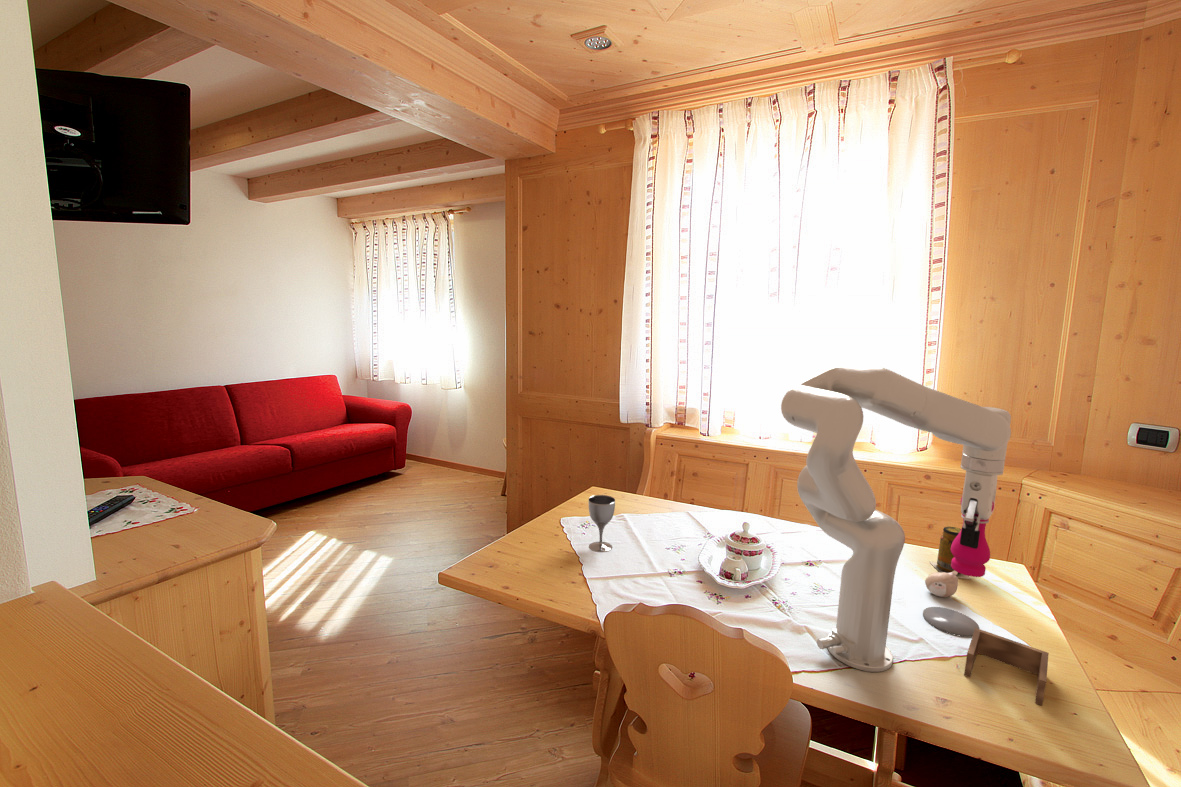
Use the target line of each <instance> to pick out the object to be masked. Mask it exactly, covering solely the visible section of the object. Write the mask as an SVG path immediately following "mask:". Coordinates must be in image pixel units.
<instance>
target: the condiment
mask: <svg viewBox="0 0 1181 787" xmlns="http://www.w3.org/2000/svg"><path fill="white" fill-rule="evenodd" d="M961 529H962V528H959V527H956V526H949V525H948V526H944V527H943V531H942V535H941V536H940V539H939V540H940V541H939V546H938V554H937V560H936V562H935V561H929V564H931V565H932V567H934V568H935V570H937V572H940V573H942V572H945V573H950V572H953V571H955V570H954V569H952V567H951V562H952V558H954V556H953V554H952V553H951V545H952V543H953V541H954V539H955V538H956V536H957V535H958V534H959V532H960V531H961ZM956 577H957V578H958V579H966V580H972V576H967V575H964V574H961V573H959V572H958V574H957V575H956Z"/></svg>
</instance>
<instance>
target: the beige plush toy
mask: <svg viewBox="0 0 1181 787" xmlns="http://www.w3.org/2000/svg"><path fill="white" fill-rule="evenodd" d="M957 574H958V572H957V571H953V572H950V573H945V572H942V573H940V572H939V571H937V572H933V573H931V574H929V575H928V576H927V577H926V578H925V580H924V581H925V582H924V583H925V584H924V585H925V587H926V589H927V590H928V591H929V592H930V593H932V594H933V595H934V596H936V597H940V598H946V597H952V596H954V595H955V594H956V593H957V591H958V585H959V584H958V583H959V578H957V577H956V575H957Z"/></svg>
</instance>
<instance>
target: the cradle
mask: <svg viewBox="0 0 1181 787" xmlns="http://www.w3.org/2000/svg"><path fill="white" fill-rule="evenodd" d="M966 653H967V654H966V660H965V665H964V666H965V667H964V673H963V676H965V677H968V678H971V675H972V672H973V668H974V666H975V663H976V658H977V655H978V653H979V655H981V656H984V657H987V658H989V659H993V660H995V661H997V662H1000V663H1003V664H1006V665H1009V666H1011V667H1014V668H1016V669H1019V670H1022V671H1025V672H1028V673H1029V674H1033V675H1036V676H1037V681H1036V691H1035V700H1034V704H1036V705H1039V706H1041V707H1043V702H1044V697H1045V696H1044V695H1045V692H1046V686H1047V681H1048V680H1047V678H1048V662H1049V655H1050V654H1049V652H1047V651H1044V650H1042V649H1038V648H1036V647H1033V646H1030V645H1028V644H1027V645H1026V644H1024V643H1021V642H1018V641H1016V640H1011V638H1010V639H1009V638H1006V637H1004V636H1000V635H998V634H995V633H992V632H989V631H986V630H983V629H980V628H979V629H978V628H975V630H974V633H973V636H971V639H970V644H969V646H968V650H967V652H966Z"/></svg>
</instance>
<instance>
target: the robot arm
mask: <svg viewBox="0 0 1181 787" xmlns="http://www.w3.org/2000/svg"><path fill="white" fill-rule="evenodd" d="M780 406H781V407H780V409H781V414H782V417H783V418H784V419H785V421H786V422H788V423H789V424H790V425H793V426H794V427H797V428H800V429H803V430H806V431H808V432H812V433H815V437H814V439H813V441H812V444H811V446H810V448H809V450H808V452H807V456H806V460H805V464H806V465H805V466H804V467H803V468H802V469H801V471H800V472H799V474H798V477H797V482H796V484H797V485H796V486H797V488H796V489H797V493H798V496H799V498H800V500H801V502H802V503H803V505H804V506H805V507H806V509H807V511H808V512H809V514H810V515H811V517H812V518H813V520H814V521H815V523H816V524H817V526H818V527H819V528H820V529H821V530H822V531H823V532H824V533H825V534H826V535H827V536H829V537H831V538H832V539H833V540H836V542H837V541H838V542H839V543H841V544H843V545H845V546H846V547H847V548H849V549H851V550H852V551H853V552H852V553H853V554H852V555H851V557H850V558H848V559H847V561H845V563H844V565H843V567H842V569H841V575H840V587H839V598H838V605H837V606H838V607H837V617H836V623H835V624H836V625H835V626H836V627H835V628H832V629H831V633H829V634H828V635H827V637H823V638H818V639H817V640H816V644H817V645H816V646H817V647H818V649H820V650H824V649H827V650H828V651H829V653H830V654H831V655H832V656H833V657H834V658H835V659H837V660H838V661H840V662H841V663H843V664H845V665H846V666H849V667H851V668H854V669H856V670H861V671H864V672H873V673H875V672H877V673H878V672H885V671H887V670H888V669H890V668H891V667H892V666H893V665H892V664H893V663H894V661H893V660H894V657H893V653H892V651H891V650H890V648H888V646H887V637H888V630H889V629H888V628H889V622H890V616H891V615H890V614H891V605H892V596H893V589H894V582H895V581H894V580H895V574H896V569H897V566H898V562H899V560H900V557H901V555H902V554H901V553H902V551H903V550H904V546H905V542H906V534H905V531H904V529H903V526H901V524H900V523H899V522H898V521H897V520H896V519H894V517H892V516H890V515H888V514H886V513H884V512H882V511H880V510H878V509H876V508H877V501H876V496H875V493H874V491H873V488H872V487H871V485H870V484H869V482H868V481H867V479H866V477H865V475H864V473H863V471H862V470H861V468H860V467H859V465H858V463H857V461H856V459H855V457H854V453H853V452H854V447H855V444H856V441H857V438H858V436H859V434H860V432H861V430H862V427H863V424H864V411H863V409H865V410H868V411H870V412H872V413H876V414H878V415H880V416H883V417H885V418H888V419H891V420H893V421H895V422H897V423H900V424H901V425H902V424H903V425H904V426H908V427H910V428H913V429H917V430H920V431H923V432H928V433H931V434H932V435H933V436H934V437H936V438H938V439H940V440H942V441H945V442H948V443H953V444H957V445H962V452H961V453H962V454H961V461H960V468H961V469H962V470H963V471H966V472H965V474H964V476H965V477H964V482H963V488H962V489H963V490H962V496H961V497H962V504H961V503H960V506H961V507H960V513H961V515H962V514H963V515H965V517H964V522H963V521H962V525H963V527H962V526H961V529H962V531H961V538H960V544H961V545H964V546H967V547H971V548H975V549H977V548H978V543H979V536H980V531H978V530H979V525H980V520H981V518H984V520H987V519H990V518H991V516H992V515H993V513H994V510H995V508H994V509H993V511H992V512H991V510H992V505H993V504H992V502H994V507H995V505H996V495H997V486H998V476H1002V475H1003V474H1004V471H1005V470H1004V469H1005V464H1006V463H1005V462H1006V455H1007V450H1008V449H1007V448H1008V443H1009V441H1010V439H1011V434H1012V431H1011V429H1012V428H1011V421H1012V420H1011V419H1012V416H1011V413H1010V412H1009V411H1008V410H1006V409H1003V408H998V407H993V406H991V407H990V406H981V405H979V404H975V403H973V402H970V401H966V400H964V399H961V398H958V397H955V396H952V395H950V394H947V393H944V392H942V391H939V390H936V389H933V388H930V387H927V386H925V385H923V384H921V383H919V382H916V381H914V380H912V379H910V378H907V377H905V376H904V375H901V374H899V373H897V372H895V371H892V370H890V369H887V368H885V367H881V366H877V365H876V366H875V365H867V364H862V363H861V364H860V363H852V362H848V363H847V362H846V363H845V362H844V363H842V364H841V363H840V364H837V365H835V366H833V367H830V368H828V369H826V370H823V371H822V372H820V373H818V374H816V375H813V376H812V377H809V378H808V379H806V380H803V381H801V382H800V383H797V384H796V385H794V386H792V387H791V388H790V389H789V390H788V391H787V392H786V393H785V395H784V396H783V398H782V400H781V404H780ZM975 514H979V515H978V517H977V516H975ZM974 519H977V521H976V522H975V521H974Z"/></svg>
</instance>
